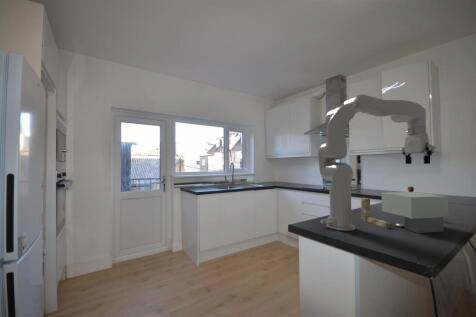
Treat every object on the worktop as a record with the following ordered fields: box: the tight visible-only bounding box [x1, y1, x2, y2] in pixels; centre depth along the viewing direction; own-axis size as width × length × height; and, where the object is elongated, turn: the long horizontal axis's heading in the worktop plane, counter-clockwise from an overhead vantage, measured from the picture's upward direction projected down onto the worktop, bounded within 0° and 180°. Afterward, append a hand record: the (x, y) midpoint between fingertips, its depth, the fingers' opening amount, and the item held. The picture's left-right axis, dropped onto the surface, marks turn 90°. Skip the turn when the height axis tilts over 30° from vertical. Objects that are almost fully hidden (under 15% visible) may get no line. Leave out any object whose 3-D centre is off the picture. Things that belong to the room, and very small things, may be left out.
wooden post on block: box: [360, 197, 391, 229], centre depth 110 cm, size 16×3×12 cm, turn 9°
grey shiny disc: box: [395, 222, 405, 228], centre depth 107 cm, size 5×5×1 cm
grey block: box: [381, 191, 449, 234], centre depth 105 cm, size 20×17×16 cm
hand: (417, 163), depth 111 cm, fingers open, 9 cm apart
